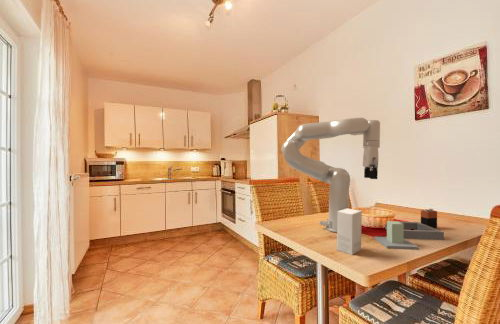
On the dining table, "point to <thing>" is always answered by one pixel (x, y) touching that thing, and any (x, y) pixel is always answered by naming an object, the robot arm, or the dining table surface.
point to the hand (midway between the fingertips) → (370, 178)
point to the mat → (396, 244)
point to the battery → (429, 218)
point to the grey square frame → (420, 231)
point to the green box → (395, 231)
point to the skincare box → (349, 230)
